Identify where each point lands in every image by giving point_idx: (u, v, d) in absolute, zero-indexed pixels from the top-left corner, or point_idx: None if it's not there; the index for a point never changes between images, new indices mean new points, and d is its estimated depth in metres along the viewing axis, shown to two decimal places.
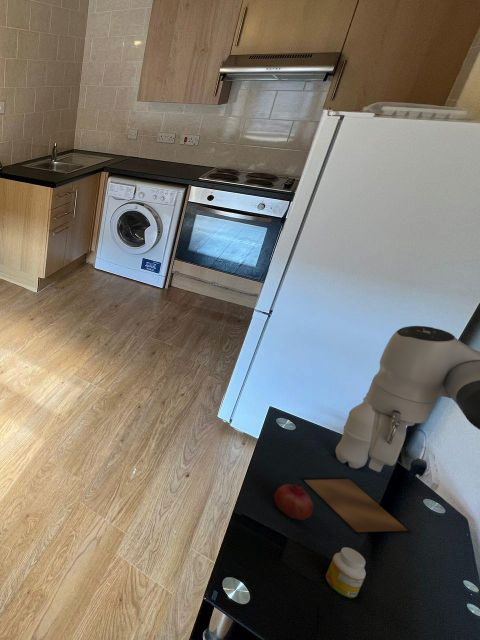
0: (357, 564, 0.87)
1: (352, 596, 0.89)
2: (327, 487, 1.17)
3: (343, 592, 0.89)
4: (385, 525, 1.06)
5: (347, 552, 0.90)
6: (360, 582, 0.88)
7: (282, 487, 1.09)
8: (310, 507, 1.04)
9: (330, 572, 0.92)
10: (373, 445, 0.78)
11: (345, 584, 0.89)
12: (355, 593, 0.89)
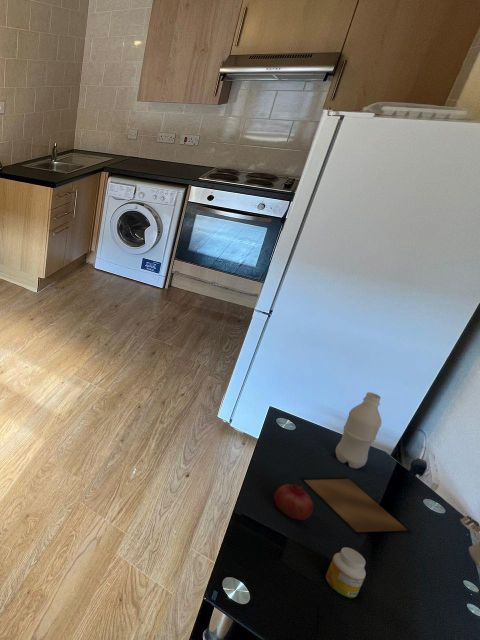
0: (357, 564, 0.87)
1: (352, 596, 0.89)
2: (327, 487, 1.17)
3: (343, 592, 0.89)
4: (385, 525, 1.06)
5: (347, 552, 0.90)
6: (360, 582, 0.88)
7: (282, 487, 1.09)
8: (310, 507, 1.04)
9: (330, 572, 0.92)
10: None
11: (345, 584, 0.89)
12: (355, 593, 0.89)
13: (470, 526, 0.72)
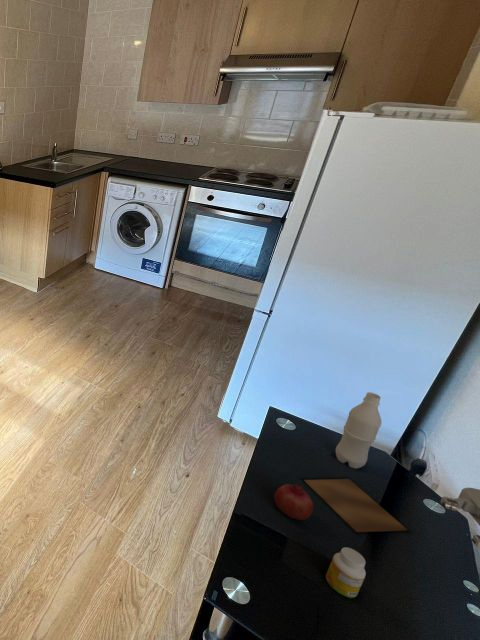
0: (357, 564, 0.87)
1: (352, 596, 0.89)
2: (327, 487, 1.17)
3: (343, 592, 0.89)
4: (385, 525, 1.06)
5: (347, 552, 0.90)
6: (360, 582, 0.88)
7: (282, 487, 1.09)
8: (310, 507, 1.04)
9: (330, 572, 0.92)
10: None
11: (345, 584, 0.89)
12: (355, 593, 0.89)
13: None
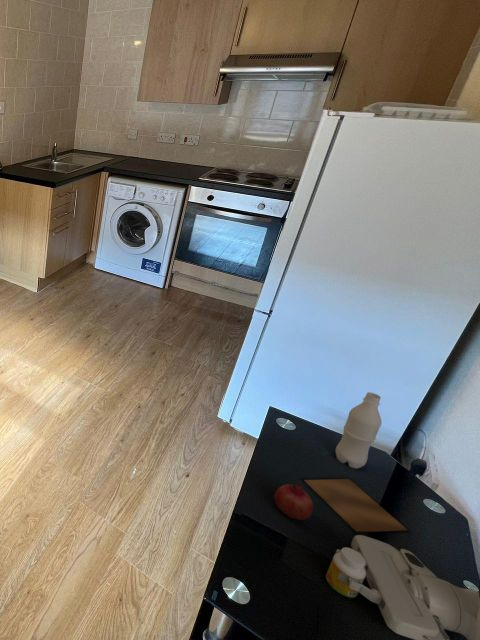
0: (357, 564, 0.87)
1: (352, 596, 0.89)
2: (327, 487, 1.17)
3: (343, 592, 0.89)
4: (385, 525, 1.06)
5: (348, 552, 0.90)
6: (360, 582, 0.88)
7: (282, 487, 1.09)
8: (310, 507, 1.04)
9: (330, 572, 0.92)
10: (414, 625, 0.79)
11: (345, 584, 0.89)
12: (355, 593, 0.89)
13: None
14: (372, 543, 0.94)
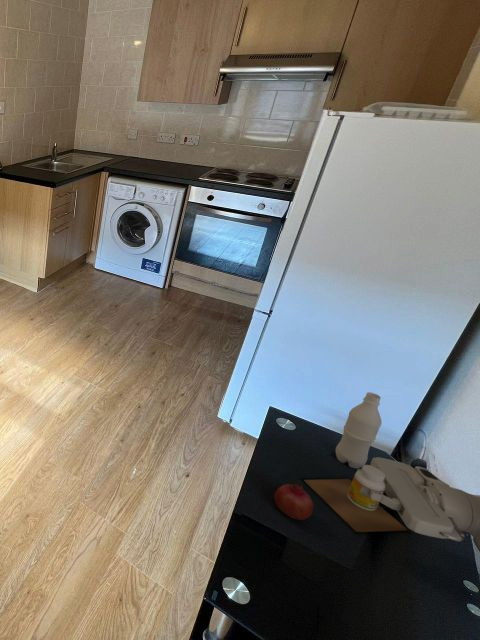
0: (377, 477, 0.96)
1: (373, 508, 0.97)
2: (327, 487, 1.17)
3: (365, 504, 0.98)
4: (385, 525, 1.06)
5: (368, 468, 0.98)
6: None
7: (282, 487, 1.09)
8: (310, 507, 1.04)
9: (352, 488, 1.00)
10: (431, 523, 0.87)
11: (367, 496, 0.97)
12: (376, 505, 0.97)
13: None
14: (389, 463, 1.03)
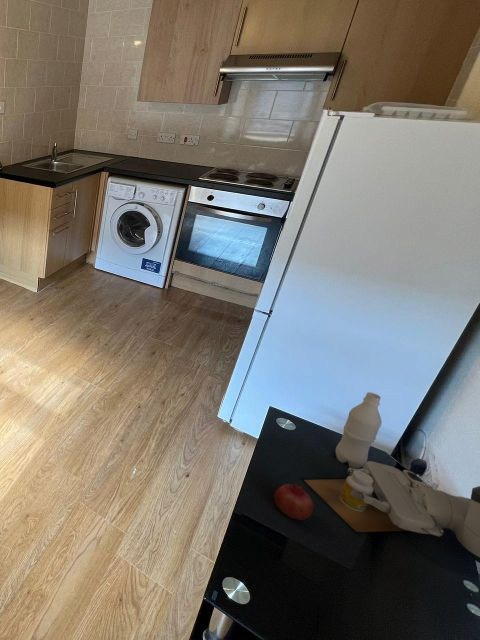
0: (366, 481, 1.07)
1: (362, 509, 1.09)
2: (327, 487, 1.17)
3: (354, 506, 1.09)
4: (385, 525, 1.06)
5: (358, 473, 1.10)
6: None
7: (282, 487, 1.09)
8: (310, 507, 1.04)
9: (343, 491, 1.11)
10: (414, 520, 0.98)
11: (356, 498, 1.09)
12: (364, 506, 1.09)
13: None
14: (380, 466, 1.14)
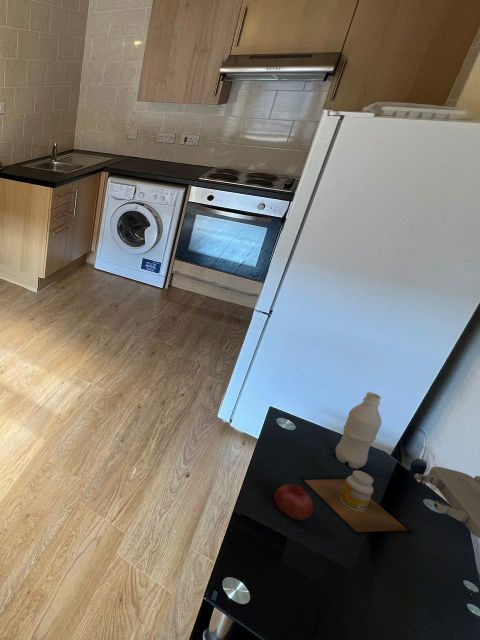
0: (366, 481, 1.07)
1: (362, 509, 1.09)
2: (327, 487, 1.17)
3: (354, 506, 1.09)
4: (385, 525, 1.06)
5: (358, 473, 1.10)
6: (369, 496, 1.08)
7: (282, 487, 1.09)
8: (310, 507, 1.04)
9: (343, 491, 1.11)
10: None
11: (356, 498, 1.09)
12: (364, 506, 1.09)
13: None
14: (449, 472, 1.07)
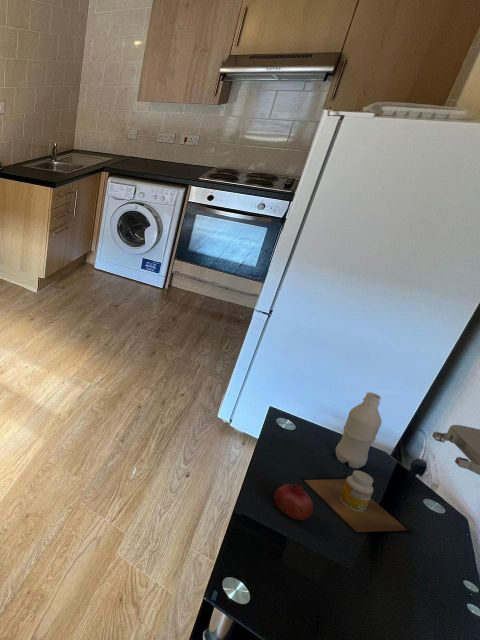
0: (366, 481, 1.07)
1: (362, 509, 1.09)
2: (327, 487, 1.17)
3: (354, 506, 1.09)
4: (385, 525, 1.06)
5: (358, 473, 1.10)
6: (369, 496, 1.08)
7: (282, 487, 1.09)
8: (310, 507, 1.04)
9: (343, 491, 1.11)
10: None
11: (356, 498, 1.09)
12: (364, 506, 1.09)
13: None
14: (469, 430, 1.03)
